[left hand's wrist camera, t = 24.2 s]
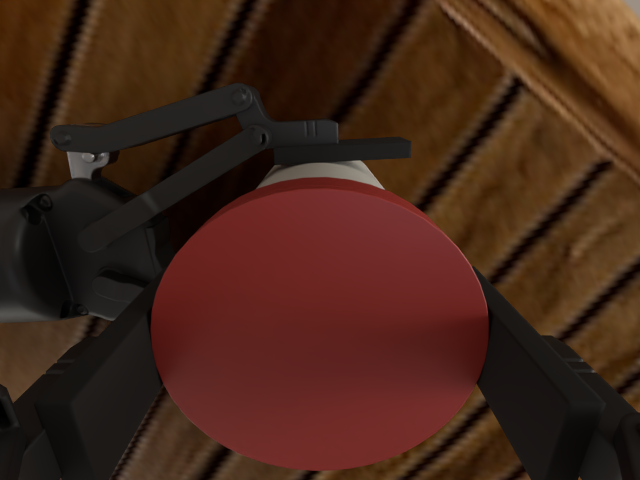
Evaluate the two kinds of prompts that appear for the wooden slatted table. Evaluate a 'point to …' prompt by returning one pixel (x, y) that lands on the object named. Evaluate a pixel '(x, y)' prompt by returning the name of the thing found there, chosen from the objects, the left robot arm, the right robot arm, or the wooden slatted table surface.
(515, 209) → the wooden slatted table surface
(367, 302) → the lid
